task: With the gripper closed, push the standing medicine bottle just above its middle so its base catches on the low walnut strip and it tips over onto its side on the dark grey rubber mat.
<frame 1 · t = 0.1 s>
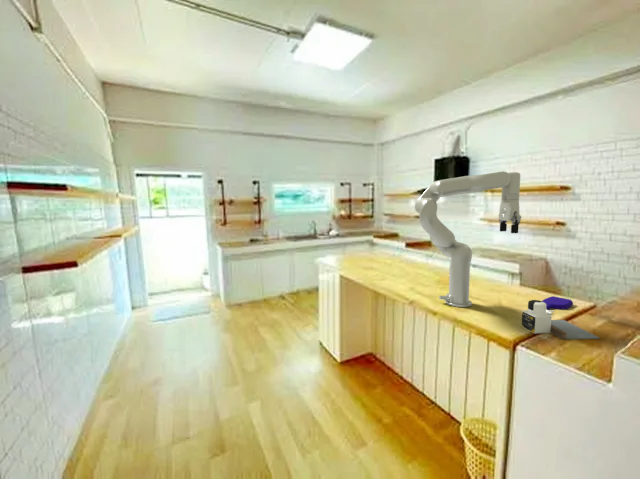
hand: (508, 232, 156), 37 cm above the countertop, tool pointing down, fingers open, 9 cm apart
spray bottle: (551, 308, 152), on the countertop
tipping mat: (562, 329, 126), on the countertop
medicine bottle: (535, 330, 127), on the countertop
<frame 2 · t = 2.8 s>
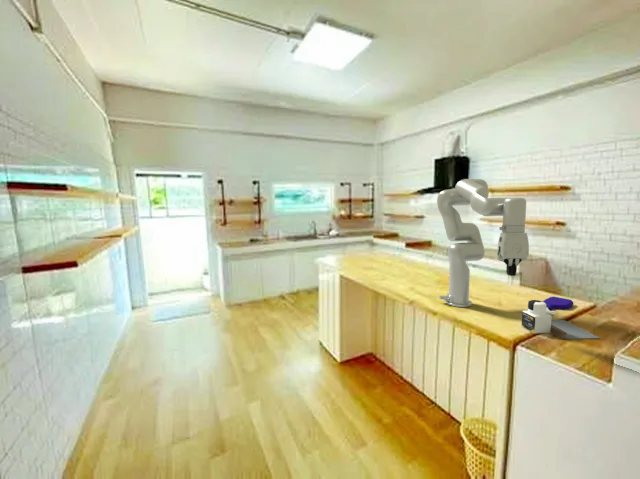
hand: (511, 274, 124), 23 cm above the countertop, tool pointing down, fingers closed
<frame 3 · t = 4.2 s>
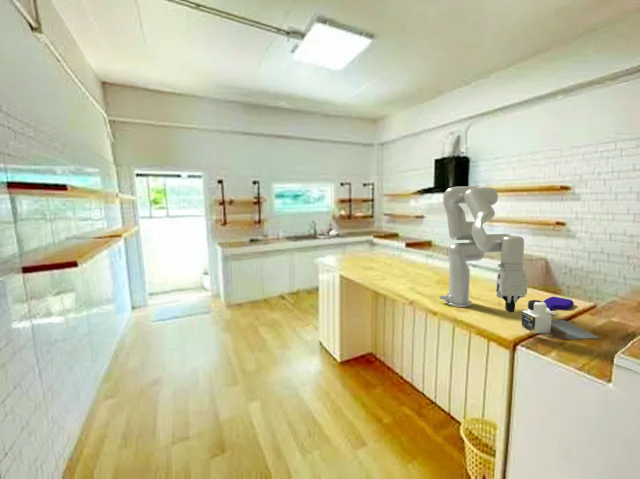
hand: (509, 311, 126), 8 cm above the countertop, tool pointing down, fingers closed
nothing on the countertop moved.
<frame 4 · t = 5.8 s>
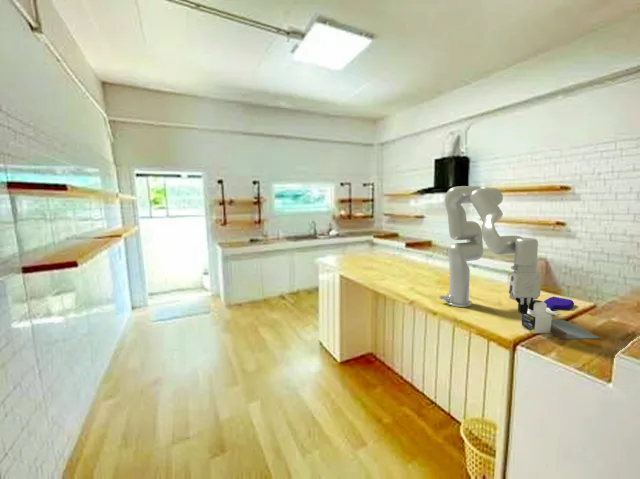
hand: (522, 313, 126), 7 cm above the countertop, tool pointing down, fingers closed
medicine bottle: (535, 330, 127), on the countertop, touching gripper
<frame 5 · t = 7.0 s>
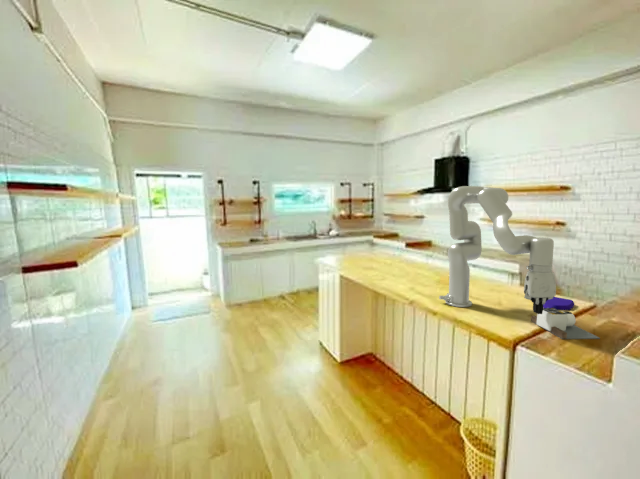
hand: (537, 312, 126), 7 cm above the countertop, tool pointing down, fingers closed
medicine bottle: (543, 319, 126), point 4 cm above the countertop, touching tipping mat
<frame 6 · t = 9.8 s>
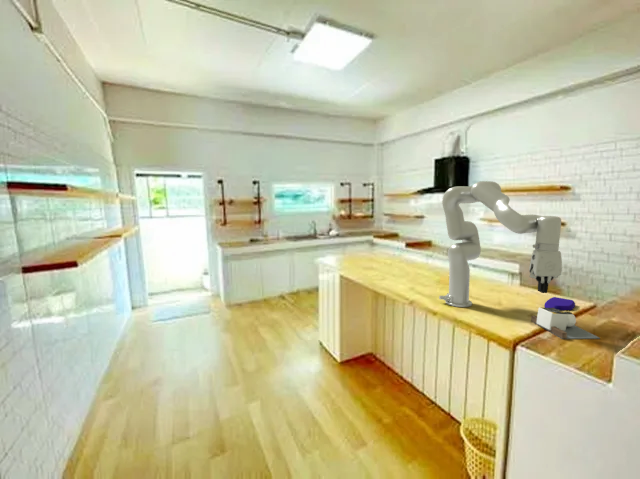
hand: (542, 291, 125), 16 cm above the countertop, tool pointing down, fingers closed
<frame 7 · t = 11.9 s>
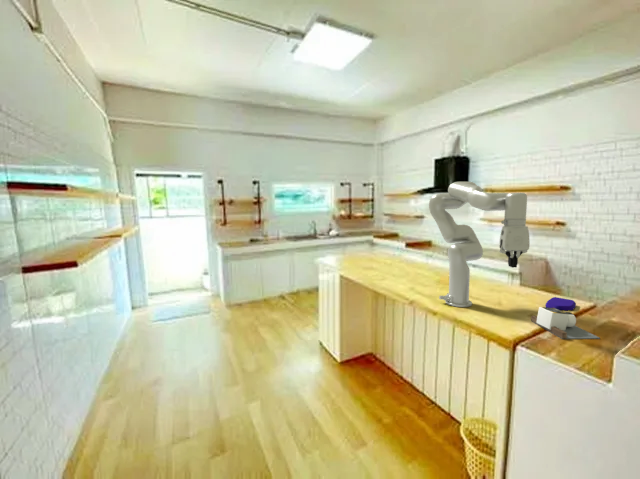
hand: (512, 266, 130), 25 cm above the countertop, tool pointing down, fingers closed
at the end: medicine bottle tilted 97°; medicine bottle inside the target area (1.8 cm from its centre), point 4.8 cm above the countertop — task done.
